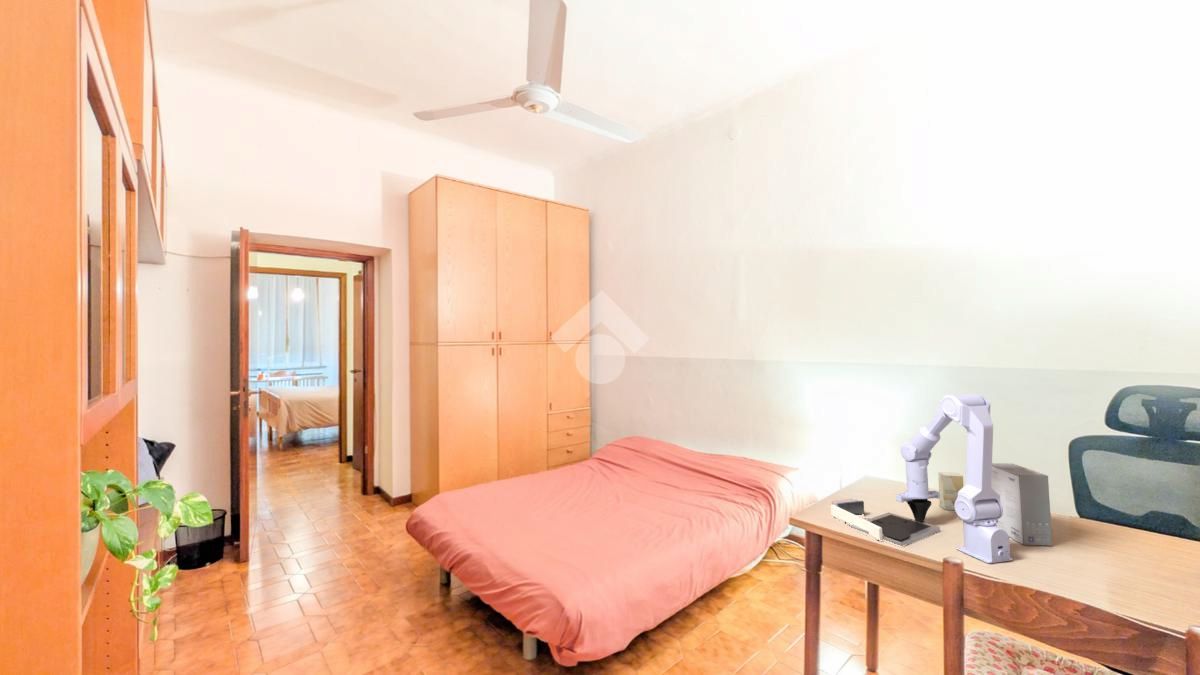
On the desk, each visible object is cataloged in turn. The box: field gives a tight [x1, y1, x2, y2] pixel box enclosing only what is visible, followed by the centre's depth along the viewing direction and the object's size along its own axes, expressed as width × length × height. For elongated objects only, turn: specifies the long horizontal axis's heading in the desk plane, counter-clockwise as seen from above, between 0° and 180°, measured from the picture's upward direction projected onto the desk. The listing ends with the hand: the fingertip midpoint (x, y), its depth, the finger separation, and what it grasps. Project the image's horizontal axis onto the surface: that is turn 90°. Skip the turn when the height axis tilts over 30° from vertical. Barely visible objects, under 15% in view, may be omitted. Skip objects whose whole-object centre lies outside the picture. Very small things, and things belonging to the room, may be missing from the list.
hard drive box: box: [991, 462, 1053, 547], centre depth 140 cm, size 16×8×20 cm, turn 168°
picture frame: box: [849, 511, 941, 546], centre depth 147 cm, size 16×3×21 cm
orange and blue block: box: [831, 498, 860, 506], centre depth 162 cm, size 4×9×5 cm, turn 100°
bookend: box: [837, 500, 865, 515], centre depth 159 cm, size 3×10×5 cm, turn 100°
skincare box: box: [937, 471, 964, 511], centre depth 164 cm, size 6×4×12 cm
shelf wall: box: [830, 504, 883, 540], centre depth 151 cm, size 22×1×4 cm, turn 10°
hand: (919, 522), depth 150 cm, fingers closed
